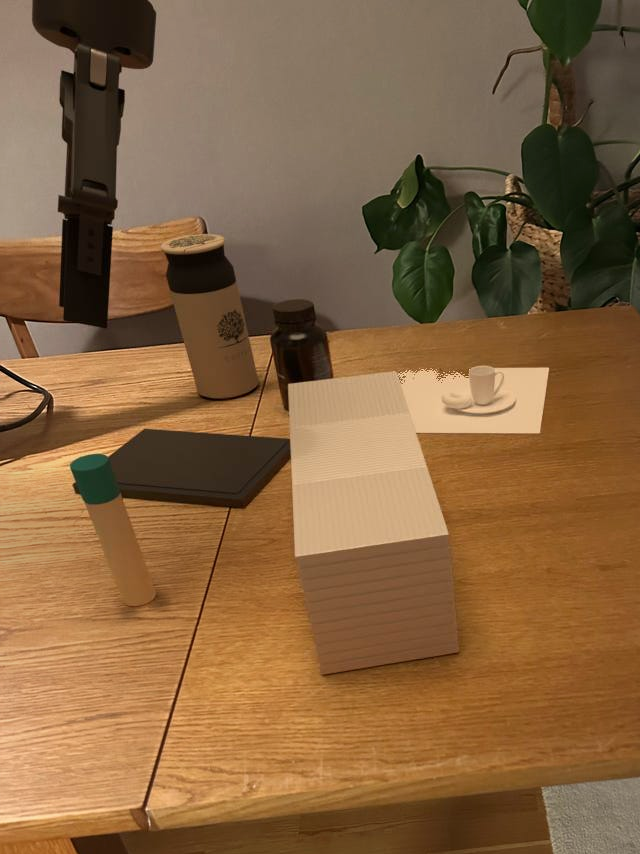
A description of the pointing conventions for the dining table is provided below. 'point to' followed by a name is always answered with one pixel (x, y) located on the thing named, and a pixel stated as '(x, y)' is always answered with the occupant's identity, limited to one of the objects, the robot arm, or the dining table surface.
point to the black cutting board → (197, 466)
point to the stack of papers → (367, 526)
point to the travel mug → (210, 315)
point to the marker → (113, 527)
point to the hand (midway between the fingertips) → (81, 317)
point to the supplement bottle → (299, 346)
